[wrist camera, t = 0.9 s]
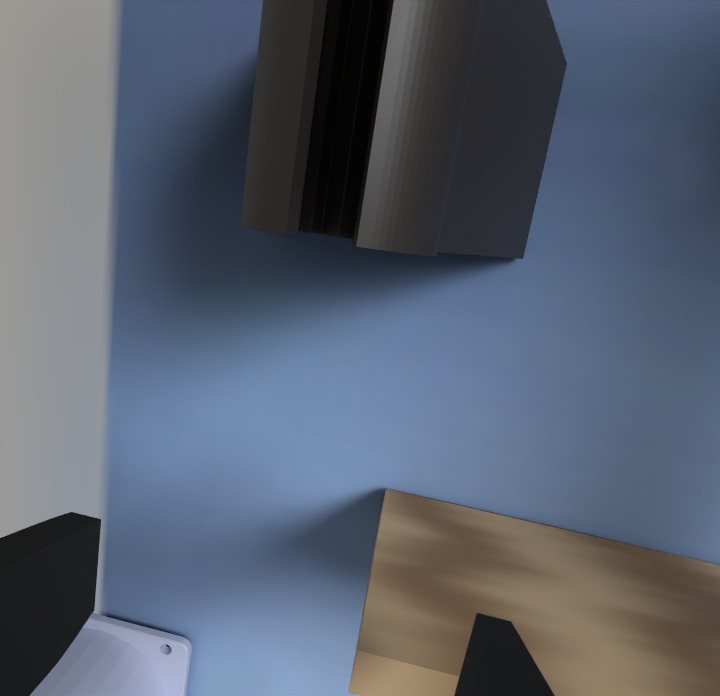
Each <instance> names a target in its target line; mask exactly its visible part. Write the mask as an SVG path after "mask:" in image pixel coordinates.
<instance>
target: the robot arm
mask: <svg viewBox="0 0 720 696" xmlns="http://www.w3.org/2000/svg"><path fill="white" fill-rule="evenodd" d="M100 526H101V519H98V518H93V517H89V516H85V515H81V514H77V513H73V512H70V513H67V514H64V515H61V516H58V517H55V518H52V519H49V520H46V521H44V522H41V523H38V524H36V525H33V526H30V527H28V528H25V529H23V530H20V531H17V532H15V533H12V534H10V535H7V536H5V537H2V538H0V696H186V690H187V682H188V675H189V667H190V659H191V651H192V647H191V644H190V642H189V641H188V640H187V639H186V638H184V637H181V636H178V635H174V634H170V633H166V632H163V631H159V630H155V629H151V628H147V627H144V626H140V625H136V624H132V623H128V622H125V621H121V620H117V619H113V618H109V617H106V616H102V615H98V614H94V613H93V611H94V606H95V592H96V591H95V590H96V579H97V566H98V553H99V539H100ZM165 644H167V645H169V646H170V647H171V648H169V647H167V646H166V645H165ZM454 696H555V695H554V693H553V692H552V690H551V688H550V687H549V685H548V683H547V682H546V680H545V678H544V676H543V675H542V673H541V671H540V670H539V668H538V666H537V665H536V663H535V661H534V659H533V658H532V656H531V654H530V653H529V651H528V649H527V647H526V646H525V644H524V642H523V640H522V639H521V637H520V635H519V634H518V632H517V630H516V629H515V627H514V625H513V624H512V622H511V621H508V620H504V619H500V618H496V617H492V616H488V615H484V614H480V613H477V614H476V618H475V621H474V625H473V629H472V632H471V636H470V640H469V643H468V647H467V651H466V654H465V658H464V662H463V665H462V669H461V673H460V676H459V680H458V684H457V687H456V691H455V695H454Z"/></svg>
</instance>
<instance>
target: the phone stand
mask: <svg viewBox="0 0 720 696" xmlns="http://www.w3.org/2000/svg"><path fill="white" fill-rule="evenodd" d="M566 65H567V63H566V60H565V57H564V54H563V51H562V48H561V45H560V41H559V38H558V35H557V32H556V29H555V26H554V23H553V20H552V17H551V14H550V11H549V8H548V4H547V1H546V0H263V6H262V16H261V26H260V36H259V45H258V55H257V65H256V75H255V84H254V94H253V104H252V113H251V123H250V133H249V143H248V152H247V162H246V172H245V182H244V191H243V201H242V211H241V221H240V225H242V226H245V227H249V228H253V229H258V230H263V231H268V232H273V233H278V234H283V235H292V236H297V235H298V231H303V232H309V233H318V234H325V235H330V236H336V237H343V238H350V239H353V245H354V246H356V247H362V248H369V249H376V250H383V251H390V252H397V253H405V254H414V255H423V256H437V252H443V253H455V254H468V255H481V256H493V257H506V258H519V259H523V256H524V252H525V247H526V243H527V238H528V234H529V229H530V225H531V220H532V216H533V212H534V207H535V203H536V198H537V194H538V189H539V185H540V180H541V176H542V172H543V167H544V163H545V158H546V154H547V149H548V145H549V141H550V136H551V132H552V127H553V123H554V118H555V114H556V109H557V105H558V101H559V96H560V92H561V87H562V83H563V78H564V74H565V69H566Z"/></svg>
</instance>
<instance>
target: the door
mask: <svg viewBox="0 0 720 696" xmlns="http://www.w3.org/2000/svg"><path fill="white" fill-rule="evenodd" d="M477 613H480V614H484V615H488V616H492V617H496V618H500V619H504V620H508V621H511V622H512V624H513V625H514V627H515V629H516V630H517V632H518V634H519V635H520V637H521V639H522V640H523V642H524V644H525V646H526V647H527V649H528V651H529V653H530V654H531V656H532V658H533V659H534V661H535V663H536V665H537V666H538V668H539V670H540V671H541V673H542V675H543V676H544V678H545V680H546V682H547V683H548V685H549V687H550V688H551V690H552V692H553V693H554V695H555V696H720V565H716V564H711V563H707V562H703V561H698V560H694V559H690V558H685V557H681V556H677V555H672V554H668V553H664V552H659V551H655V550H651V549H646V548H642V547H638V546H633V545H629V544H624V543H620V542H616V541H611V540H607V539H603V538H598V537H594V536H590V535H585V534H581V533H577V532H572V531H568V530H564V529H559V528H555V527H551V526H546V525H542V524H538V523H533V522H529V521H524V520H520V519H516V518H511V517H507V516H503V515H498V514H494V513H490V512H485V511H481V510H477V509H472V508H468V507H464V506H459V505H455V504H451V503H446V502H442V501H438V500H433V499H429V498H424V497H420V496H416V495H411V494H407V493H403V492H398V491H394V490H390V489H386V491H385V496H384V500H383V505H382V510H381V515H380V520H379V525H378V531H377V537H376V542H375V548H374V553H373V559H372V564H371V570H370V575H369V581H368V587H367V592H366V598H365V603H364V609H363V614H362V620H361V625H360V631H359V636H358V642H357V648H356V653H355V659H354V664H353V670H352V675H351V681H350V686H349V693H352V694H356V695H360V696H454V695H455V691H456V687H457V684H458V680H459V676H460V673H461V669H462V665H463V662H464V658H465V654H466V651H467V647H468V643H469V640H470V636H471V632H472V629H473V625H474V621H475V618H476V614H477Z"/></svg>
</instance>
